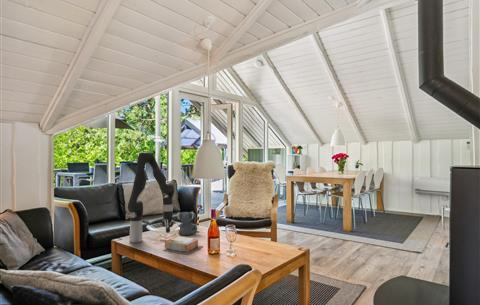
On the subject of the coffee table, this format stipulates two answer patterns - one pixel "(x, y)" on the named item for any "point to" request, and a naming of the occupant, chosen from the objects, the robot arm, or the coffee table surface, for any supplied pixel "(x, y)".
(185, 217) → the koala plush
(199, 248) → the mat
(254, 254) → the coffee table surface
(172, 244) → the cracker box
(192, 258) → the coffee table surface
